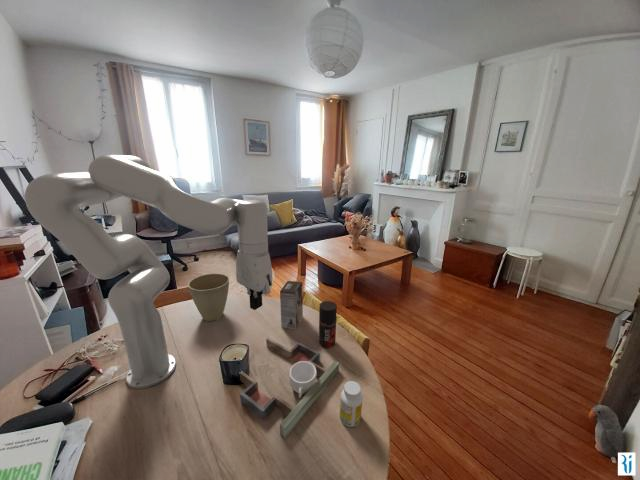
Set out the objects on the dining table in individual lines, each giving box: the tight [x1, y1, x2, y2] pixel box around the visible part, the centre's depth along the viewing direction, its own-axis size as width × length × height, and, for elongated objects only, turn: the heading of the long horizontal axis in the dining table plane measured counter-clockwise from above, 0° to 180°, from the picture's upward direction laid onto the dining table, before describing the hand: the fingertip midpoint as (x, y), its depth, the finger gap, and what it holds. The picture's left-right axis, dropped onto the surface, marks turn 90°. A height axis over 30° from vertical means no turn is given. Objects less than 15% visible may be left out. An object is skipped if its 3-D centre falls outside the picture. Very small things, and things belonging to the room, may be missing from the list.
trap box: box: [239, 337, 340, 439], centre depth 76 cm, size 26×25×3 cm
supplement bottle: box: [339, 380, 363, 428], centre depth 63 cm, size 5×5×10 cm
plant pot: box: [187, 273, 230, 322], centre depth 103 cm, size 15×15×16 cm
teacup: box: [288, 361, 318, 399], centre depth 71 cm, size 10×8×5 cm
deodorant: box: [318, 300, 338, 349], centre depth 89 cm, size 6×6×15 cm
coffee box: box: [279, 280, 304, 330], centre depth 100 cm, size 9×6×16 cm
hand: (256, 307), depth 73 cm, fingers closed
